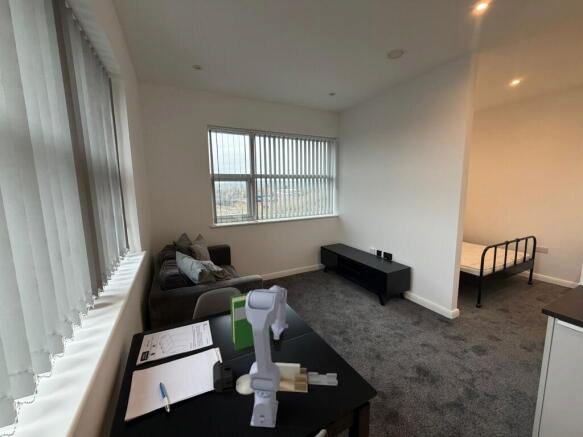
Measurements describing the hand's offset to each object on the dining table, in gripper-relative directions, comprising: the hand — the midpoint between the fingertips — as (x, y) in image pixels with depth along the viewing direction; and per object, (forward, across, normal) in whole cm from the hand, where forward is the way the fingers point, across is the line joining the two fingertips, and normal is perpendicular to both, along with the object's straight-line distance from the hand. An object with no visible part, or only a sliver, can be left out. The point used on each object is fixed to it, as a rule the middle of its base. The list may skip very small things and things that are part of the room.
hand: (278, 344), depth 105 cm
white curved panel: (+9, -7, -4) cm, 12 cm away
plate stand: (+10, -7, -18) cm, 22 cm away
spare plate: (+10, -11, +11) cm, 19 cm away
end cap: (+10, -11, +21) cm, 26 cm away
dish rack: (+10, -9, -4) cm, 14 cm away
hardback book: (+10, +16, +16) cm, 25 cm away
